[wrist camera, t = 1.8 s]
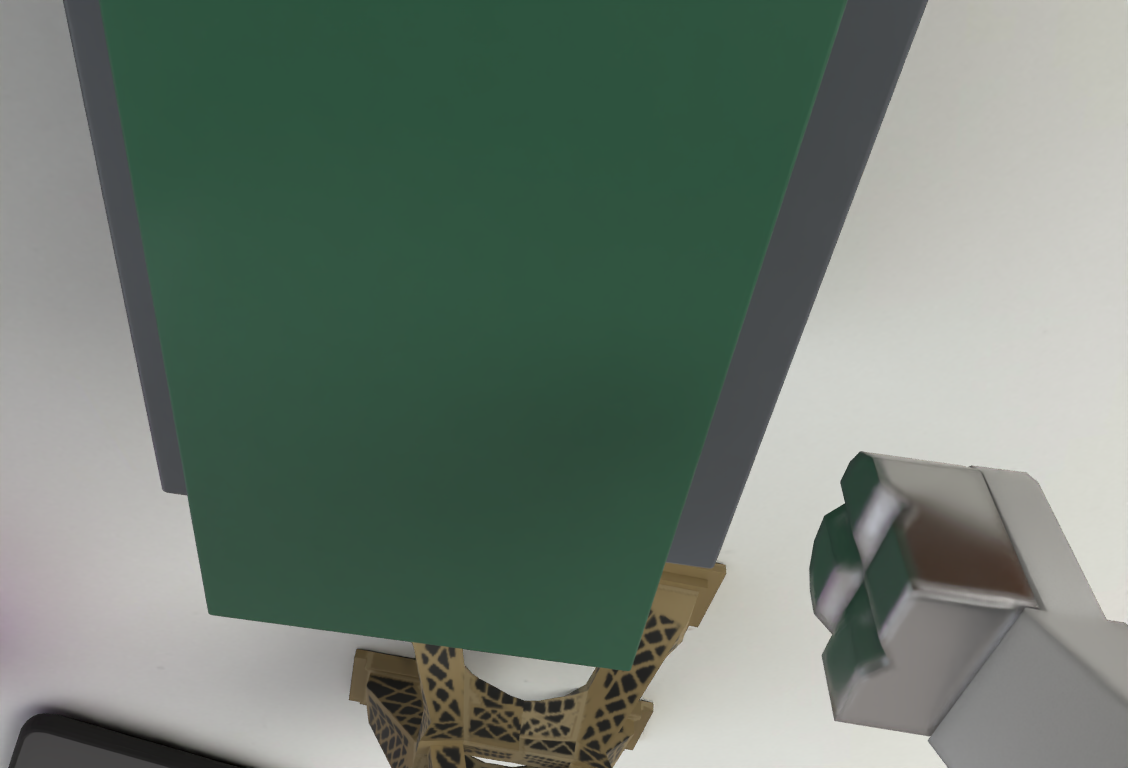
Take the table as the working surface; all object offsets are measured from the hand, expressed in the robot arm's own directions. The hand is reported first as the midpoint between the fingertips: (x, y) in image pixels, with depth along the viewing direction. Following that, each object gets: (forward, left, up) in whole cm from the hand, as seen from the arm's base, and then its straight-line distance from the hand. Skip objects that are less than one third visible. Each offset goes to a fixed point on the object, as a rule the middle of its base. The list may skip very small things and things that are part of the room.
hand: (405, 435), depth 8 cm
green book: (0, 0, -5) cm, 5 cm away
